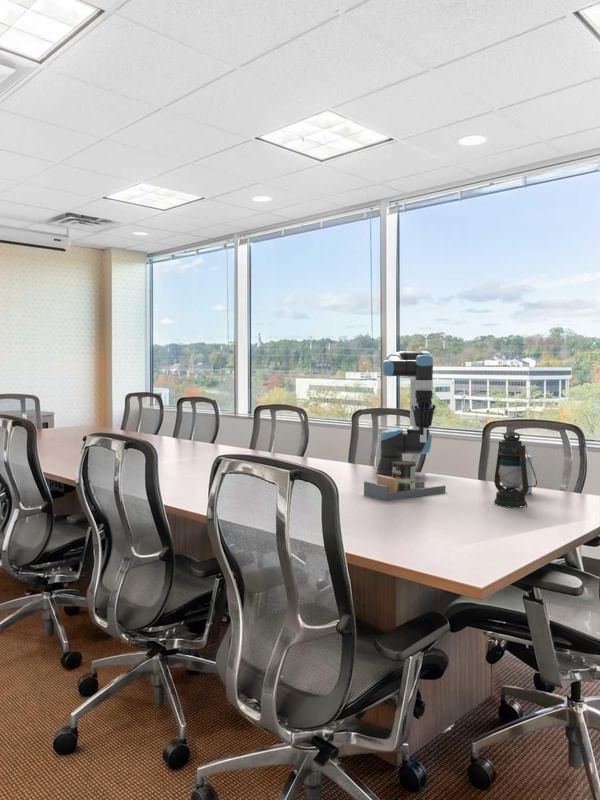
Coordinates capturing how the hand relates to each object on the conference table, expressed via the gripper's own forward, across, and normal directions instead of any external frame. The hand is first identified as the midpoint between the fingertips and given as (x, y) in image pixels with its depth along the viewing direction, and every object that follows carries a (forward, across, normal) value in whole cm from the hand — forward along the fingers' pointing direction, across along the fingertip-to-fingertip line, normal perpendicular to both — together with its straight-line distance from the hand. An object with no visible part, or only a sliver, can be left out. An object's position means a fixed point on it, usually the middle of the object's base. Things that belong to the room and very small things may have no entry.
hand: (423, 442), depth 278 cm
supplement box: (+23, -36, +24) cm, 49 cm away
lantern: (+23, -12, +39) cm, 47 cm away
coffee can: (+23, +12, 0) cm, 26 cm away
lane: (+22, +10, 0) cm, 24 cm away
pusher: (+22, +21, 0) cm, 31 cm away
